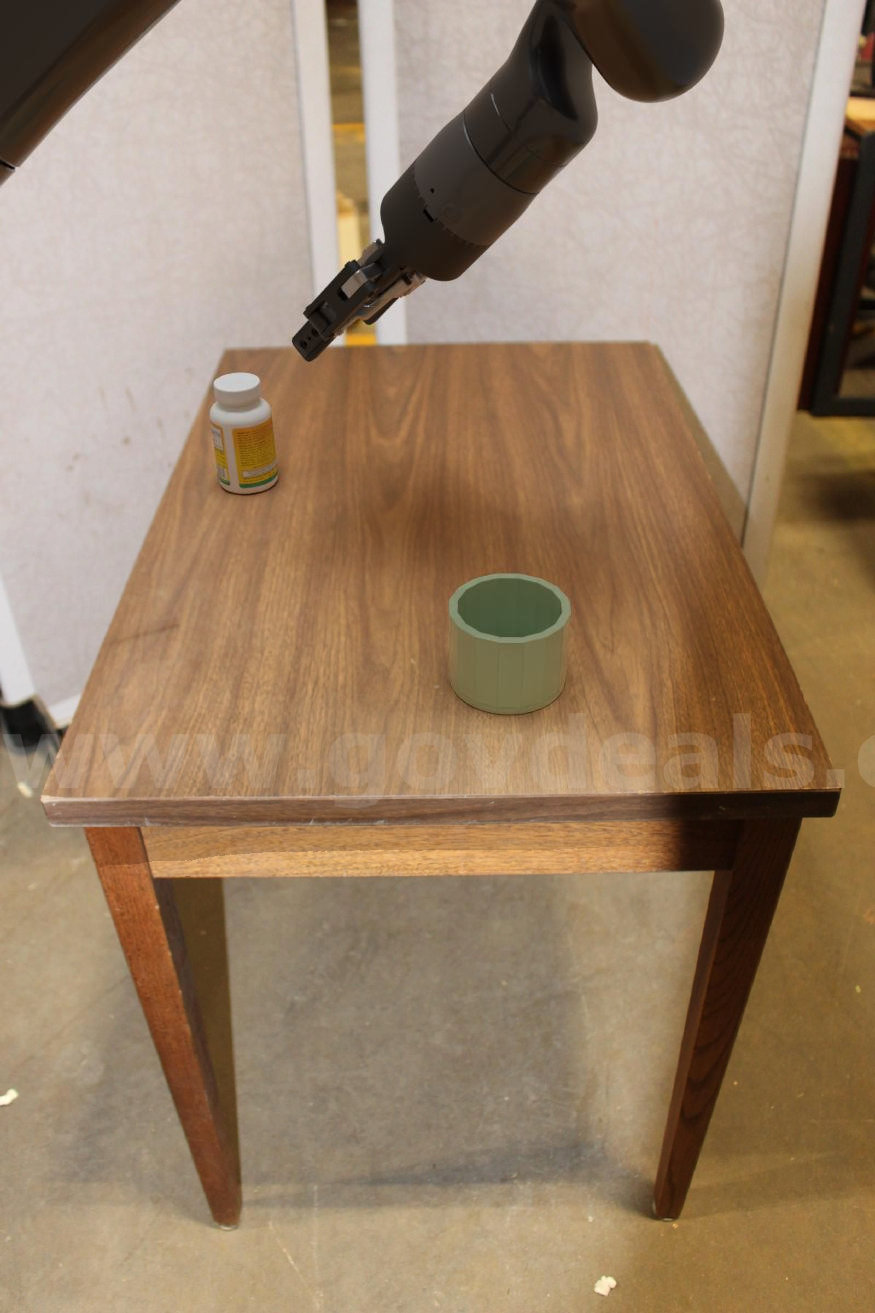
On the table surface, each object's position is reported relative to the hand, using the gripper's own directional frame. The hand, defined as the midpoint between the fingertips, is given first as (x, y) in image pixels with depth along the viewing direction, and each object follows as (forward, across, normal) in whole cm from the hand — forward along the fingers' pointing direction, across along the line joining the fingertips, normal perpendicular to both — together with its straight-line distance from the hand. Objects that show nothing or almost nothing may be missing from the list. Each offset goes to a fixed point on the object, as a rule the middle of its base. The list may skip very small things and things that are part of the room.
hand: (332, 332), depth 83 cm
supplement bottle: (+19, 0, +4) cm, 19 cm away
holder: (-5, +15, +27) cm, 31 cm away
